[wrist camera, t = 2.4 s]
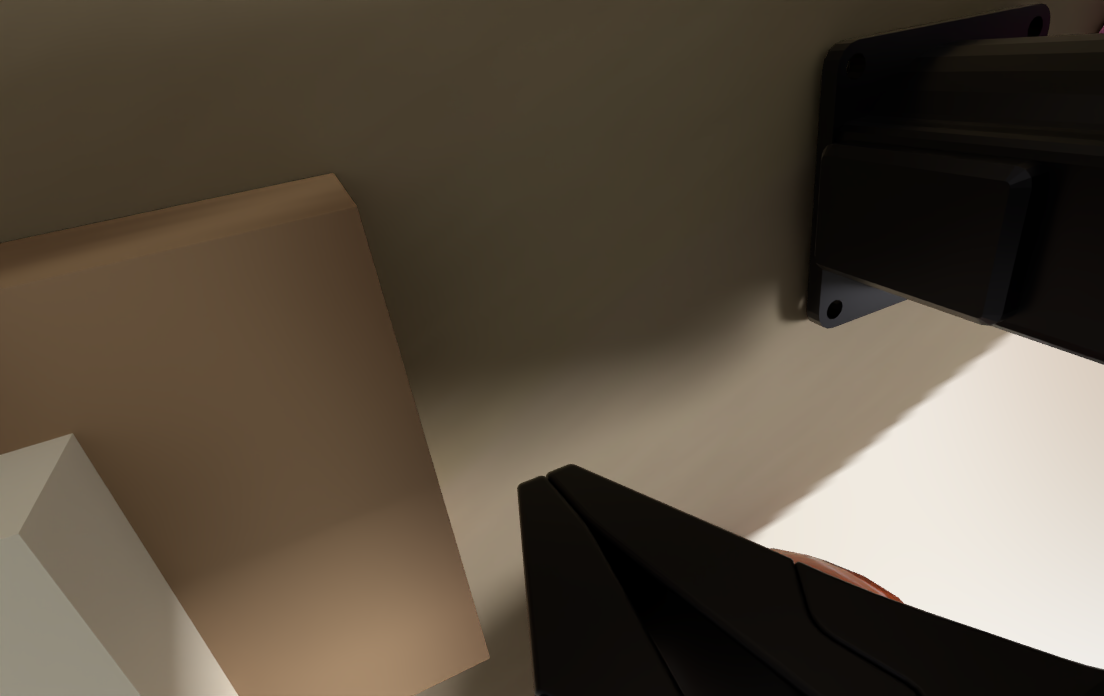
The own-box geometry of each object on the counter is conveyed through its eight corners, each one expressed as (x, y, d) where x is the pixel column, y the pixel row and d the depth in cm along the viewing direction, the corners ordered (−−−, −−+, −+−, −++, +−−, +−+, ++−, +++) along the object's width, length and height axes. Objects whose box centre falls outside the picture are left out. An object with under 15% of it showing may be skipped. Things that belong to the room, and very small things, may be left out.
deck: (333, 172, 10) (356, 206, 7) (449, 550, 14) (490, 658, 11) (-714, 393, 6) (-1346, 597, 4) (-161, 807, 10) (-299, 1041, 8)
